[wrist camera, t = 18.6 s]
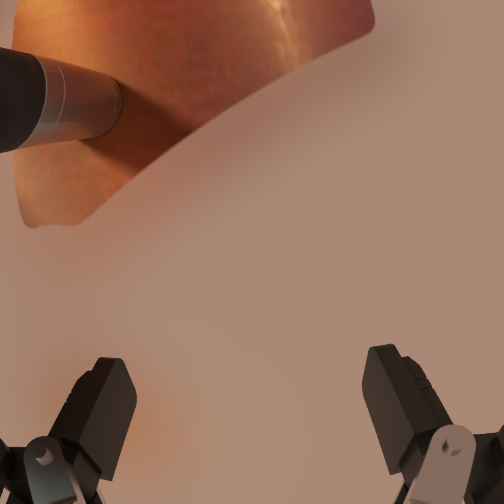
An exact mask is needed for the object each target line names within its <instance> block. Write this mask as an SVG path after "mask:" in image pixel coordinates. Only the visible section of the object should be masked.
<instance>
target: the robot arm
mask: <svg viewBox="0 0 504 504" xmlns="http://www.w3.org/2000/svg"><path fill="white" fill-rule="evenodd" d="M121 108H122V93H121V90H120V87H119V85H118V84H117V82H116V81H115V80H114V79H113V78H112V77H110V76H108V75H106V74H103V73H99V72H96V71H93V70H90V69H87V68H83V67H80V66H76V65H73V64H69V63H65V62H62V61H58V60H54V59H50V58H46V57H41V56H37V55H33V54H29V53H24V52H19V51H15V50H11V49H6V48H1V47H0V153H3V152H8V151H12V150H16V149H21V148H27V147H32V146H37V145H44V144H50V143H57V142H64V141H71V140H80V139H89V138H95V137H99V136H101V135H103V134H104V133H106V132H107V131H108V130H110V129H111V127H112V126H113V125H114V124H115V122H116V121H117V119H118V117H119V114H120V112H121ZM362 392H363V396H364V399H365V402H366V405H367V408H368V411H369V413H370V416H371V419H372V422H373V425H374V428H375V431H376V434H377V437H378V440H379V443H380V446H381V448H382V452H383V455H384V458H385V461H386V464H387V467H388V470H389V473H390V475H393V474H396V473H400V472H402V475H403V478H404V480H403V482H402V484H401V486H400V489H399V490H398V492H397V494H396V496H395V498H394V501H393V503H392V504H461V503H462V500H463V499H464V502H465V504H504V425H503V426H502V428H501V429H500V430H499V432H496V433H487V434H478V435H477V434H472V433H471V432H470V431H469V430H468V429H466V428H465V427H463V426H459V425H454V424H453V422H452V421H451V419H450V417H449V415H448V414H447V412H446V410H445V408H444V407H443V405H442V403H441V401H440V399H439V397H438V396H437V394H436V392H435V390H434V389H433V388H432V385H431V383H430V382H429V380H428V379H427V378H426V375H425V373H424V372H423V370H422V368H421V367H420V365H419V364H417V363H416V362H415V361H414V360H412V359H411V358H410V357H409V356H407V357H401V356H400V354H399V352H398V350H397V349H396V347H395V345H393V344H387V345H381V346H374V347H370V349H369V351H368V356H367V361H366V365H365V370H364V375H363V379H362ZM136 403H137V395H136V390H135V387H134V385H133V383H132V380H131V378H130V376H129V373H128V371H127V369H126V366H125V363H124V362H123V360H122V359H120V358H105V357H100V358H99V359H98V360H97V362H96V363H95V365H94V367H93V369H92V371H87V372H86V373H85V374H83V375H82V376H81V377H80V378H79V379H78V380H77V381H76V383H75V385H74V387H73V389H72V390H71V393H70V394H69V396H68V398H67V402H65V403H64V405H63V407H62V409H61V411H60V413H59V415H58V417H57V419H56V420H55V422H54V425H53V426H52V428H51V430H50V432H49V434H48V436H41V437H37V438H35V439H34V440H32V441H31V442H30V443H29V444H28V445H27V446H26V447H8V446H7V445H6V444H5V443H4V442H3V441H2V440H1V439H0V497H1V494H2V492H3V489H4V488H5V489H7V490H8V491H9V492H10V494H9V497H8V500H7V502H6V504H106V501H105V499H104V497H103V495H102V493H101V491H100V489H99V487H98V482H99V479H104V480H108V481H112V479H113V476H114V473H115V469H116V466H117V462H118V459H119V456H120V453H121V450H122V447H123V444H124V441H125V437H126V434H127V431H128V428H129V425H130V422H131V419H132V416H133V413H134V410H135V407H136Z"/></svg>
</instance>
